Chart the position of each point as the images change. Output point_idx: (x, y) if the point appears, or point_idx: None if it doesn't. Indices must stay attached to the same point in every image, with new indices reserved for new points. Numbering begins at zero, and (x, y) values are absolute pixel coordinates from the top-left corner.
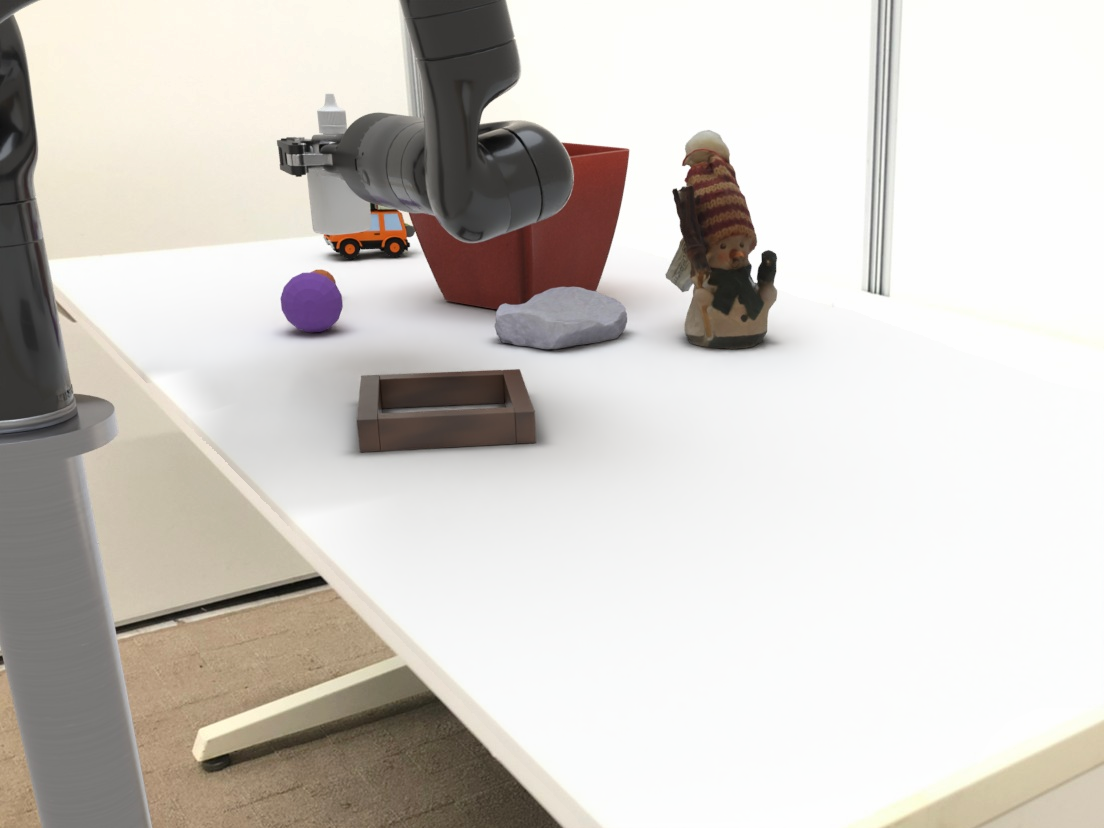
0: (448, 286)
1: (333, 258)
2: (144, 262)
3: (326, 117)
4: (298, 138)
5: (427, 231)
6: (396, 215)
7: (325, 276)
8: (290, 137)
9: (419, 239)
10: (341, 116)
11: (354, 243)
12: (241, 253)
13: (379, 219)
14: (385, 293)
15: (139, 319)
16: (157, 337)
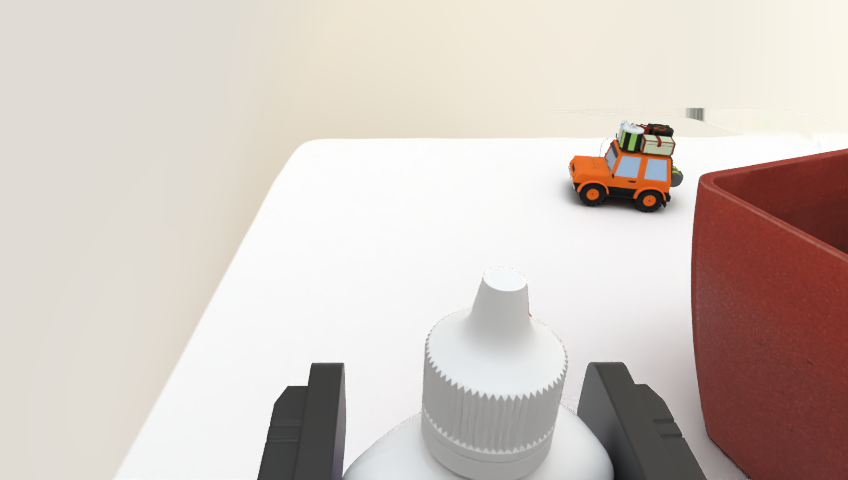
0: (723, 430)
1: (572, 195)
2: (381, 159)
3: (449, 409)
4: (319, 432)
5: (719, 344)
6: (664, 162)
7: None
8: (316, 380)
9: (695, 340)
10: (532, 414)
11: (600, 189)
12: (482, 158)
13: (640, 164)
14: (608, 346)
15: (240, 341)
16: (191, 446)
